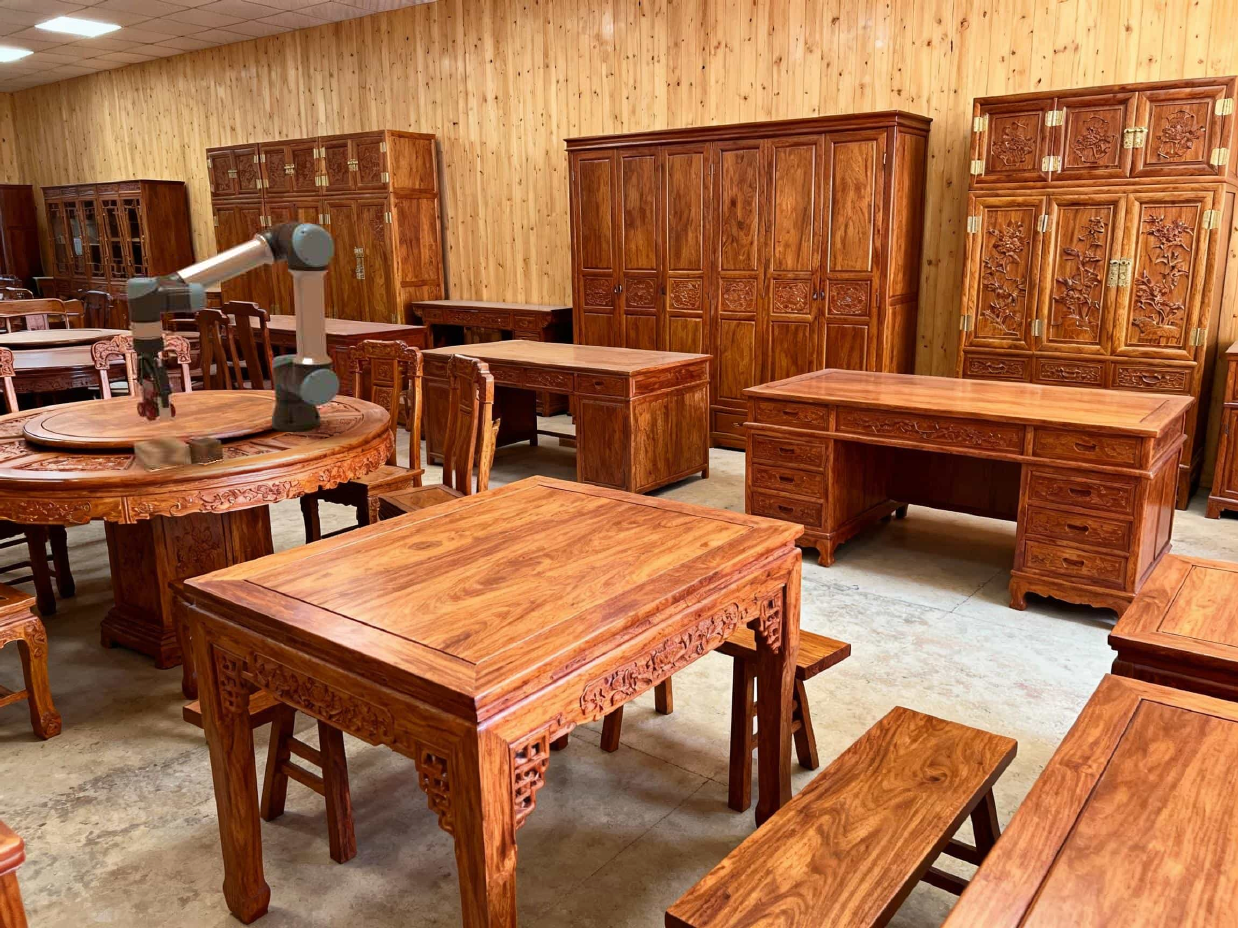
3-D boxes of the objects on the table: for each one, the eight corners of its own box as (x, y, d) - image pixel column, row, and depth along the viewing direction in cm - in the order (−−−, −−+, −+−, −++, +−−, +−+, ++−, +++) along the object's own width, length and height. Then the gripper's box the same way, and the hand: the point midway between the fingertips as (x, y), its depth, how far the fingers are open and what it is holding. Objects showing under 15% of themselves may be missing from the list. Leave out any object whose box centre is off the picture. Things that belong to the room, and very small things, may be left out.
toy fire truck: (154, 424, 248) (149, 386, 245) (135, 414, 256) (130, 378, 252) (180, 419, 253) (176, 382, 250) (160, 410, 261) (156, 374, 257)
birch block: (176, 455, 266) (174, 436, 264) (191, 465, 259) (189, 445, 257) (136, 463, 259) (133, 443, 257) (150, 473, 251) (147, 452, 249)
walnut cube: (209, 456, 266) (207, 436, 264) (222, 460, 263) (220, 440, 261) (190, 462, 261) (188, 441, 259) (204, 466, 258) (202, 445, 256)
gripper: (117, 330, 253) (127, 406, 259) (149, 345, 236) (159, 425, 243) (146, 328, 258) (155, 402, 265) (179, 342, 242) (188, 421, 248)
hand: (157, 413), depth 254 cm, fingers closed on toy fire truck, 12 cm apart
